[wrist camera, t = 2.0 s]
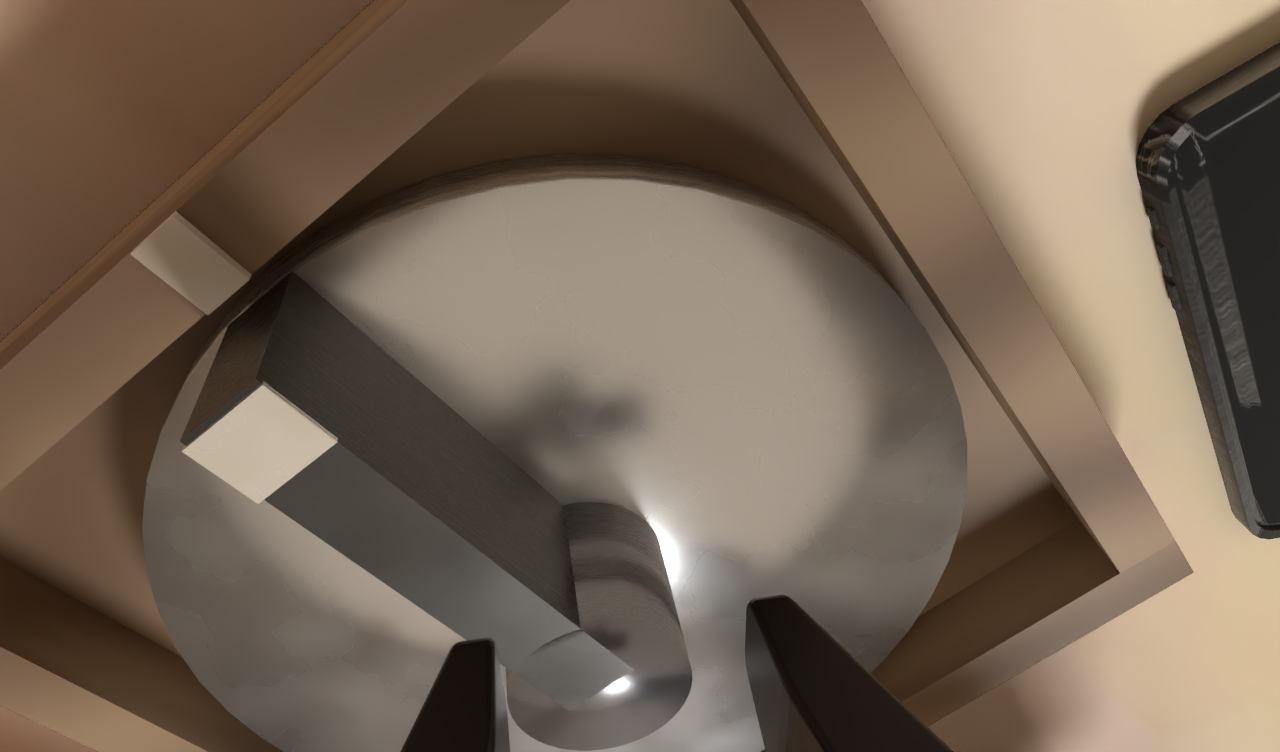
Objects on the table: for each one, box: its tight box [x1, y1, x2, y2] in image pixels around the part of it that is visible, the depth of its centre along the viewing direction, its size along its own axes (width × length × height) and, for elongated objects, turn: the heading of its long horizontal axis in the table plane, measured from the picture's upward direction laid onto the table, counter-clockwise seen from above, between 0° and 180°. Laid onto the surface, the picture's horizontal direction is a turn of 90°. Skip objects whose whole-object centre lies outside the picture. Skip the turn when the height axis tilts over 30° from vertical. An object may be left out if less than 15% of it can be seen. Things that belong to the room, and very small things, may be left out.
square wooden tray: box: [0, 0, 1193, 752], centre depth 22 cm, size 22×22×4 cm
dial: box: [142, 154, 968, 752], centre depth 20 cm, size 18×18×5 cm
